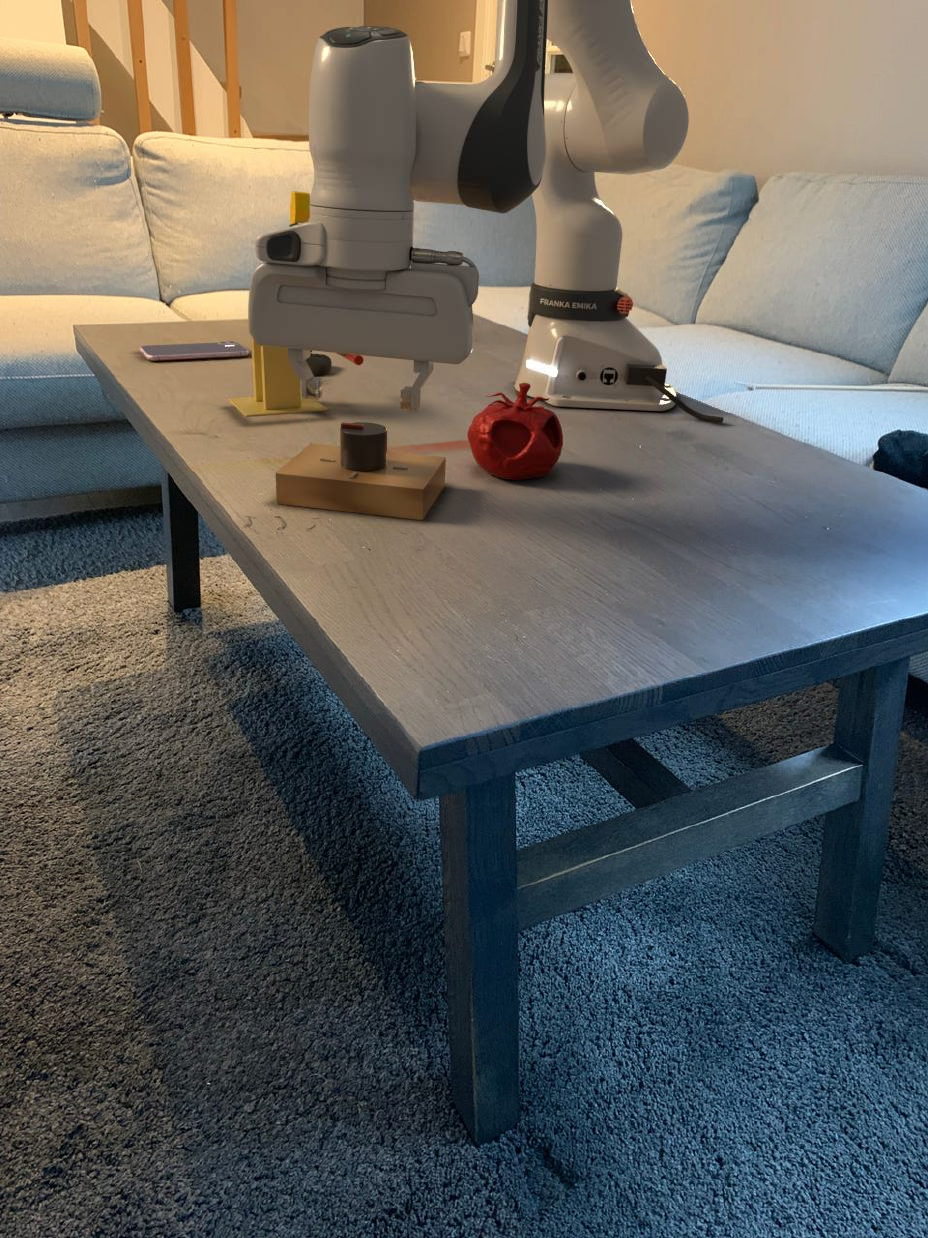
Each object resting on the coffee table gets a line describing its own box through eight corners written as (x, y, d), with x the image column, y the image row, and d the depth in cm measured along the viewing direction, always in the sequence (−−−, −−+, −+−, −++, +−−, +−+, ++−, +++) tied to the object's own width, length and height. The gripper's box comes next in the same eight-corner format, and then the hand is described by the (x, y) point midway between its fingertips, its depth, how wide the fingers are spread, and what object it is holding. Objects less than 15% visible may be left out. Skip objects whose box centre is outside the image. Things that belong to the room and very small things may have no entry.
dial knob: (391, 459, 94) (392, 421, 92) (380, 473, 90) (380, 433, 88) (348, 455, 94) (348, 416, 93) (334, 468, 90) (334, 428, 89)
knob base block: (444, 485, 97) (445, 455, 95) (422, 520, 88) (423, 487, 87) (311, 471, 99) (310, 441, 97) (276, 503, 90) (275, 471, 89)
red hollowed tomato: (451, 460, 104) (455, 374, 100) (534, 453, 108) (541, 370, 104) (490, 490, 96) (496, 397, 92) (577, 481, 100) (587, 392, 96)
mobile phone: (137, 344, 144) (237, 339, 150) (138, 350, 145) (237, 346, 151) (147, 354, 138) (250, 349, 144) (148, 361, 139) (250, 356, 145)
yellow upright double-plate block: (306, 402, 123) (304, 298, 117) (327, 418, 117) (326, 309, 111) (229, 407, 119) (222, 300, 113) (246, 424, 113) (240, 311, 107)
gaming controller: (256, 368, 134) (271, 333, 136) (272, 390, 139) (287, 355, 141) (317, 377, 131) (332, 341, 133) (331, 399, 136) (345, 364, 138)
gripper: (486, 249, 84) (476, 406, 90) (264, 232, 87) (269, 385, 93) (473, 256, 79) (464, 422, 85) (237, 237, 82) (244, 400, 88)
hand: (360, 403), depth 89 cm, fingers open, 8 cm apart
